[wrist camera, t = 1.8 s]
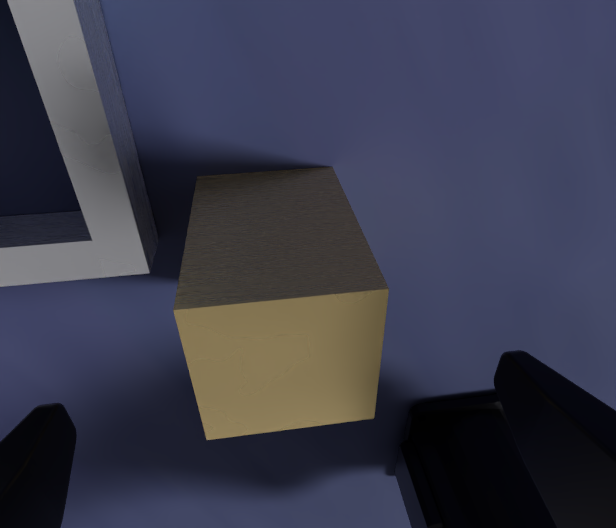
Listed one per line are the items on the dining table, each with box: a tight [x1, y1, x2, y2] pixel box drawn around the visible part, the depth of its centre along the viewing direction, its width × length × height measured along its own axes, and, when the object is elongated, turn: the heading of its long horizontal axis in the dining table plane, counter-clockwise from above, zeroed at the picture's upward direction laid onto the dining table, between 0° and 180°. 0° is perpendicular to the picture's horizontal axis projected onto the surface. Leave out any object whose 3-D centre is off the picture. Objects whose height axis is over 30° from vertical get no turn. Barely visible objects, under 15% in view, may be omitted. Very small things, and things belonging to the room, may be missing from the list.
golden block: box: [173, 167, 389, 440], centre depth 12 cm, size 4×4×6 cm
